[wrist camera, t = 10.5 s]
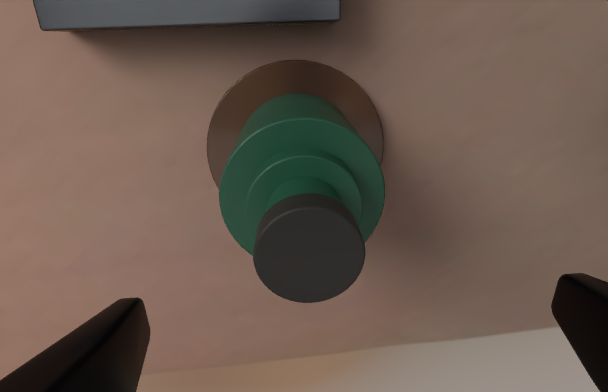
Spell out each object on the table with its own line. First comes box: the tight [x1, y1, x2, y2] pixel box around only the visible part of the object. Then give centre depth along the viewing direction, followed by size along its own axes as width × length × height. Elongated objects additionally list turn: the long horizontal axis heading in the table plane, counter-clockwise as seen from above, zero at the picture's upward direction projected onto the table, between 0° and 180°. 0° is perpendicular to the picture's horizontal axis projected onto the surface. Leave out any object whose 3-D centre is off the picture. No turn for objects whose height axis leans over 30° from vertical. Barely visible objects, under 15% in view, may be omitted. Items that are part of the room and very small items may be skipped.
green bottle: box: [219, 93, 385, 303], centre depth 14 cm, size 6×6×10 cm
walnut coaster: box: [207, 60, 384, 189], centre depth 19 cm, size 9×9×1 cm
